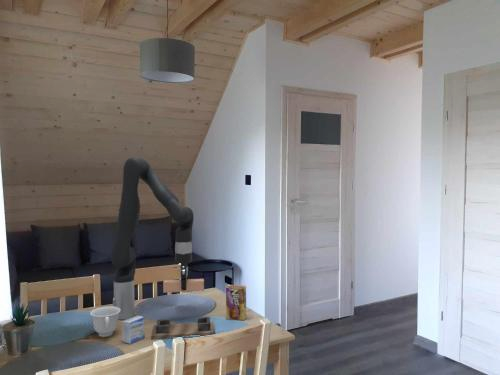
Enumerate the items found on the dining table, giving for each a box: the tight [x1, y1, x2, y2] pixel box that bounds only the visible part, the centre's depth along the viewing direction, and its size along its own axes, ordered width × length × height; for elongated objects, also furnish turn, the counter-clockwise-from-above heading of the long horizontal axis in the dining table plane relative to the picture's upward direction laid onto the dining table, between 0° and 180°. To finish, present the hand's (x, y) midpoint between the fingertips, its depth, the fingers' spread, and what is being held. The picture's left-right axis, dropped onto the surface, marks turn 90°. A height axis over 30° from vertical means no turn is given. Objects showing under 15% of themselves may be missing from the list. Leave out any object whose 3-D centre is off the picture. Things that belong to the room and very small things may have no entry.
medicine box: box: [121, 315, 146, 345], centre depth 167 cm, size 8×4×9 cm, turn 148°
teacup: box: [89, 305, 120, 338], centre depth 171 cm, size 12×15×10 cm
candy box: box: [225, 284, 247, 321], centre depth 191 cm, size 9×4×15 cm, turn 79°
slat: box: [162, 278, 205, 293], centre depth 186 cm, size 18×4×4 cm, turn 99°
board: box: [150, 316, 216, 340], centre depth 175 cm, size 26×12×4 cm, turn 98°
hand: (183, 288), depth 186 cm, fingers closed on slat, 4 cm apart
